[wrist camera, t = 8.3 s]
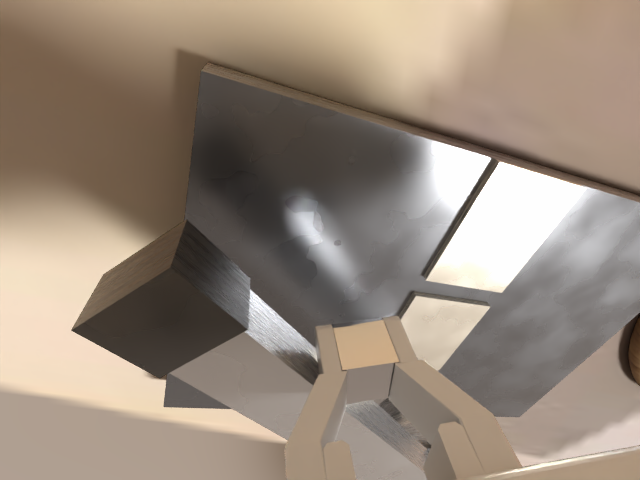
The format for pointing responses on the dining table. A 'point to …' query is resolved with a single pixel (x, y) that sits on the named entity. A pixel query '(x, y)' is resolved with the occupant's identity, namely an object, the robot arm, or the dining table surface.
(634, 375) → the wooden plate with food
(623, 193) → the board
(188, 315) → the swing bar
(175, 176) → the dining table surface
